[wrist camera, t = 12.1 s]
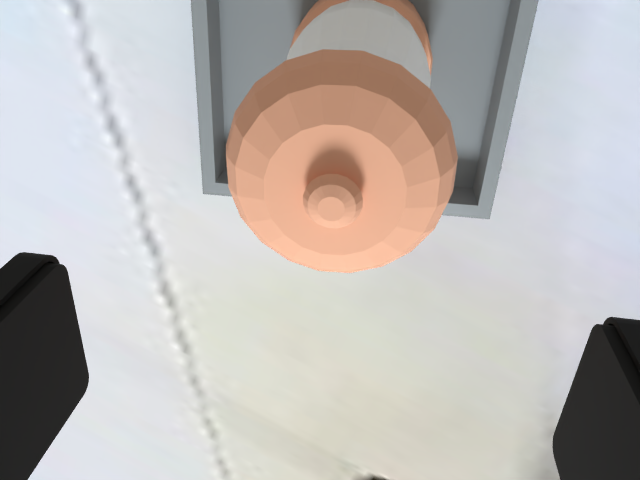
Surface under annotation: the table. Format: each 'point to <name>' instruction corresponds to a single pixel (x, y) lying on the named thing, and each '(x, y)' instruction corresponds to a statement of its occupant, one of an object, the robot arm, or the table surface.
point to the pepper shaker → (345, 140)
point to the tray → (446, 83)
